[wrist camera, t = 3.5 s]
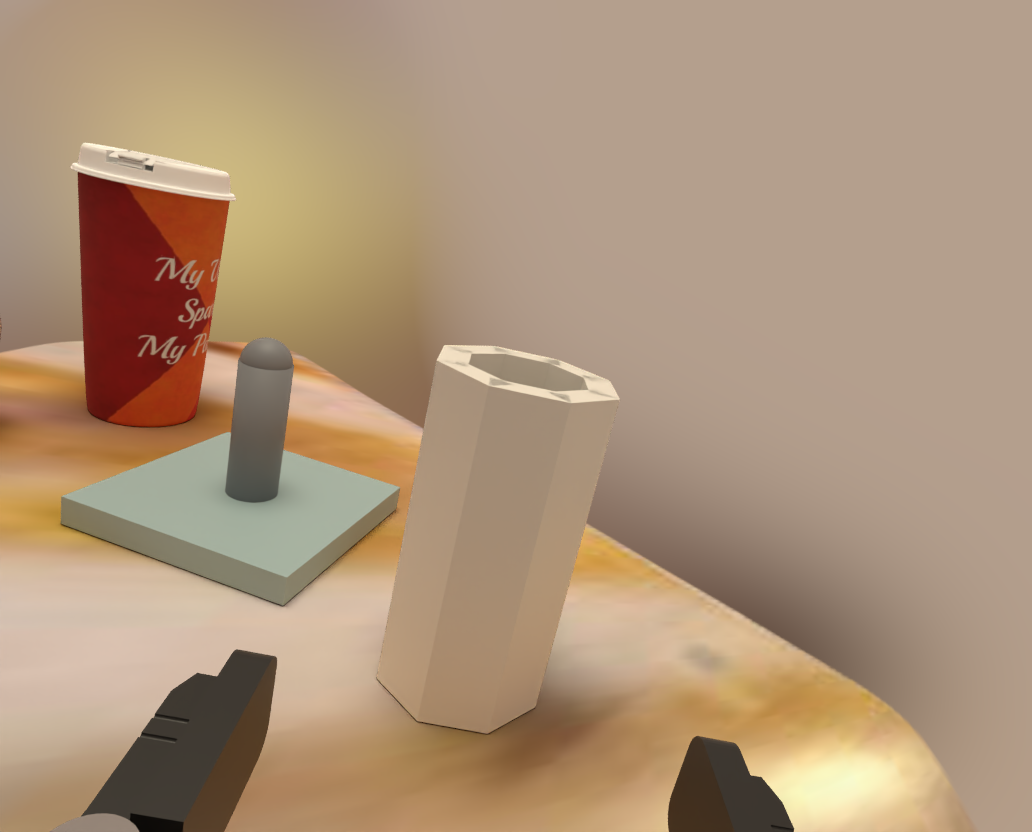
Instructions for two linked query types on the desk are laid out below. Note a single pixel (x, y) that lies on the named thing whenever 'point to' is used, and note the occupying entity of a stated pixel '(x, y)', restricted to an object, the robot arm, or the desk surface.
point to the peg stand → (239, 496)
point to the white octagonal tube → (492, 533)
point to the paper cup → (147, 281)
